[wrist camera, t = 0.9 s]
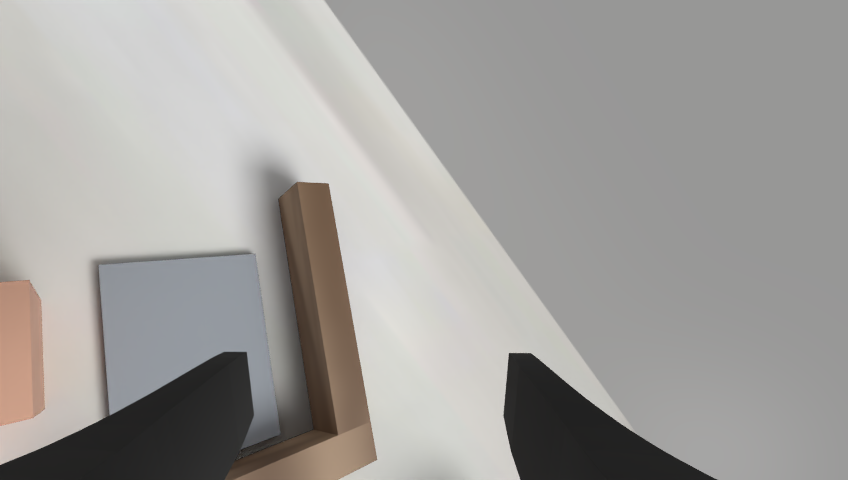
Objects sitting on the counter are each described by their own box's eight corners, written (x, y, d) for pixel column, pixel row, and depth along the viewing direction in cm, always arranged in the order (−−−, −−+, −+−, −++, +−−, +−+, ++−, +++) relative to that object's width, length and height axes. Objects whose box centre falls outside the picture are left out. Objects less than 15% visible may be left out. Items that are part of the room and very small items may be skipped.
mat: (115, 494, 17) (115, 497, 17) (98, 266, 18) (98, 264, 18) (278, 433, 21) (280, 434, 21) (253, 255, 23) (255, 253, 23)
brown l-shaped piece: (88, 573, 16) (89, 605, 14) (64, 195, 18) (61, 170, 16) (349, 452, 24) (377, 459, 22) (308, 199, 26) (328, 183, 24)
